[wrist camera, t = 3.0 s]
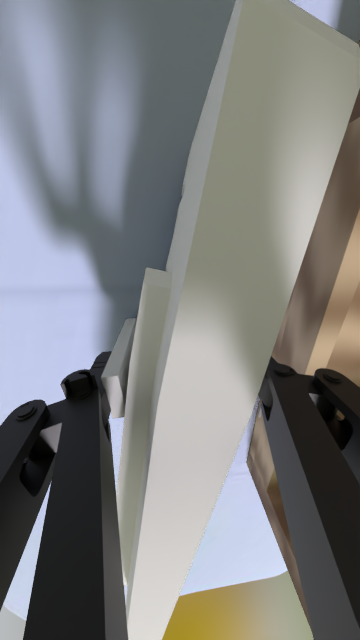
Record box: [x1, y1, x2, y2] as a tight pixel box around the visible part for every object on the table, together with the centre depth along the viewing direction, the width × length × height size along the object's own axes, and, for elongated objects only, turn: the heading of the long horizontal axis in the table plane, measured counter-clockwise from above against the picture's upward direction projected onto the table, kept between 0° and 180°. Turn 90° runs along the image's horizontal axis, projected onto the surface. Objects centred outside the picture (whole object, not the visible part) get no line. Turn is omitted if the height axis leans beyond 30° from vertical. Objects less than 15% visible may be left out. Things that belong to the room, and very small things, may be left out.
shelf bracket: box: [116, 0, 360, 640], centre depth 12 cm, size 6×25×13 cm, turn 166°
